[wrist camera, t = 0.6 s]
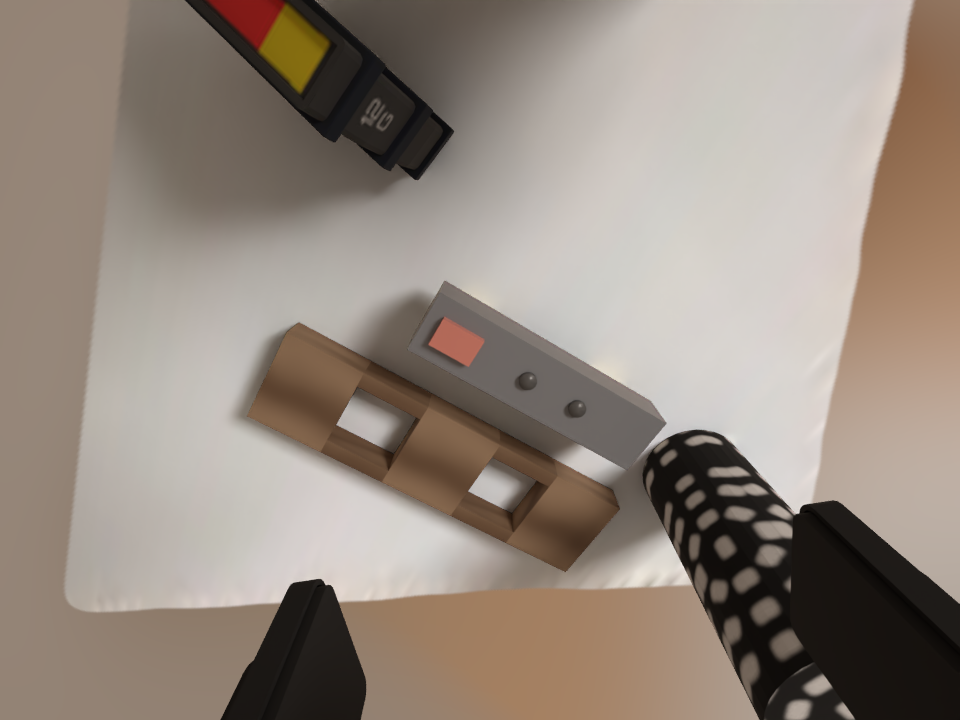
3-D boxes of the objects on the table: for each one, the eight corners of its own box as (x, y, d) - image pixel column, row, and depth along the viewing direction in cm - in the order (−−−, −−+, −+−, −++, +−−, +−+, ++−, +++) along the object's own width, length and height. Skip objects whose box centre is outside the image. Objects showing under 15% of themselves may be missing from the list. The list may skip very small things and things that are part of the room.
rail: (299, 322, 38) (286, 332, 35) (612, 490, 43) (619, 508, 41) (260, 401, 40) (246, 416, 38) (561, 551, 46) (565, 572, 43)
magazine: (455, 210, 33) (304, 126, 19) (333, 95, 36) (122, -54, 22) (491, 164, 32) (359, 39, 18) (363, 49, 35) (161, -139, 21)
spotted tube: (622, 474, 42) (728, 712, 24) (698, 411, 40) (881, 619, 21) (684, 526, 44) (827, 784, 26) (760, 468, 42) (977, 706, 23)
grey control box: (447, 273, 36) (439, 294, 30) (641, 387, 39) (669, 427, 33) (418, 323, 38) (405, 352, 32) (607, 429, 41) (629, 475, 35)
